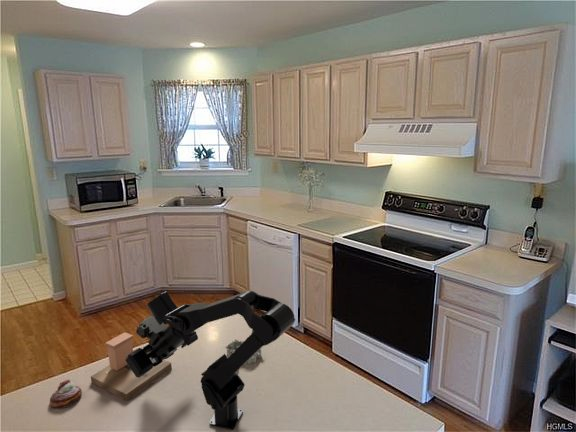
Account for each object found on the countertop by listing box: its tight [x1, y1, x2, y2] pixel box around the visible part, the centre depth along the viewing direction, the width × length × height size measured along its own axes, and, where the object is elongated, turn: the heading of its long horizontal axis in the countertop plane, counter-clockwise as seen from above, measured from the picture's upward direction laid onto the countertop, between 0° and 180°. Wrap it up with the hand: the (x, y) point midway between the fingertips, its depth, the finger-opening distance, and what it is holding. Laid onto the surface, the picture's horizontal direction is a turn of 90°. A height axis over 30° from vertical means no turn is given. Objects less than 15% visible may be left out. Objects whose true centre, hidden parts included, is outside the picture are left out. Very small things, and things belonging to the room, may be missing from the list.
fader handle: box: [105, 331, 134, 371], centre depth 116 cm, size 4×7×8 cm, turn 150°
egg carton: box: [224, 339, 262, 365], centre depth 125 cm, size 11×8×4 cm
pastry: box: [49, 379, 83, 409], centre depth 106 cm, size 8×8×5 cm
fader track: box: [90, 348, 172, 401], centre depth 116 cm, size 15×16×2 cm
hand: (147, 361), depth 111 cm, fingers closed
